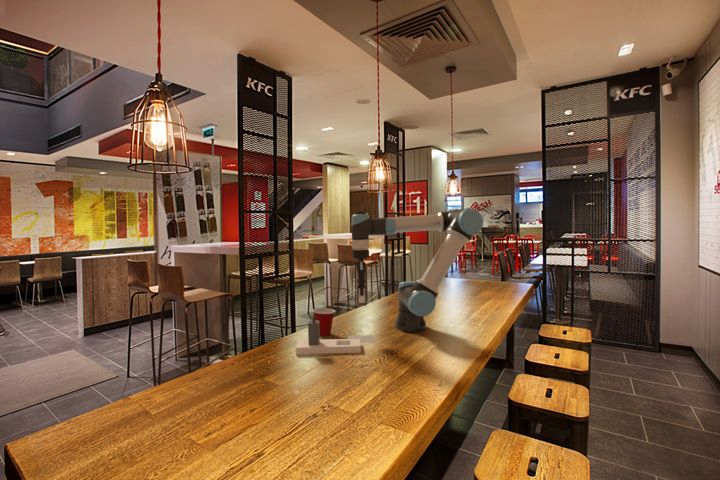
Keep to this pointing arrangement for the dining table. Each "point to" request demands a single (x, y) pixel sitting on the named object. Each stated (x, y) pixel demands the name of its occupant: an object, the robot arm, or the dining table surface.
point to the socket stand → (325, 343)
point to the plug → (358, 293)
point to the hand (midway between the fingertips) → (361, 301)
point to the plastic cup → (324, 320)
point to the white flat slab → (363, 338)
